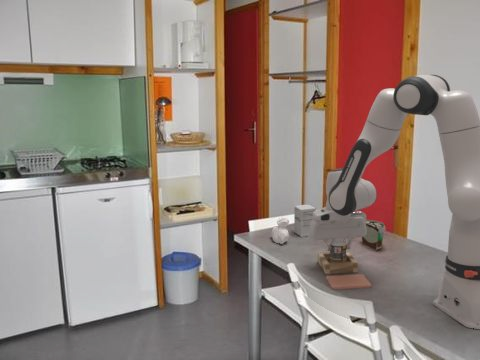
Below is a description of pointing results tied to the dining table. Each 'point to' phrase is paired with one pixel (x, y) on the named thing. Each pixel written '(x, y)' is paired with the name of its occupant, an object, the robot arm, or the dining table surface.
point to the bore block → (337, 264)
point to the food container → (374, 235)
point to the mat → (348, 281)
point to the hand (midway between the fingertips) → (338, 249)
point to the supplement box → (303, 219)
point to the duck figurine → (280, 231)
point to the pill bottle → (338, 250)
